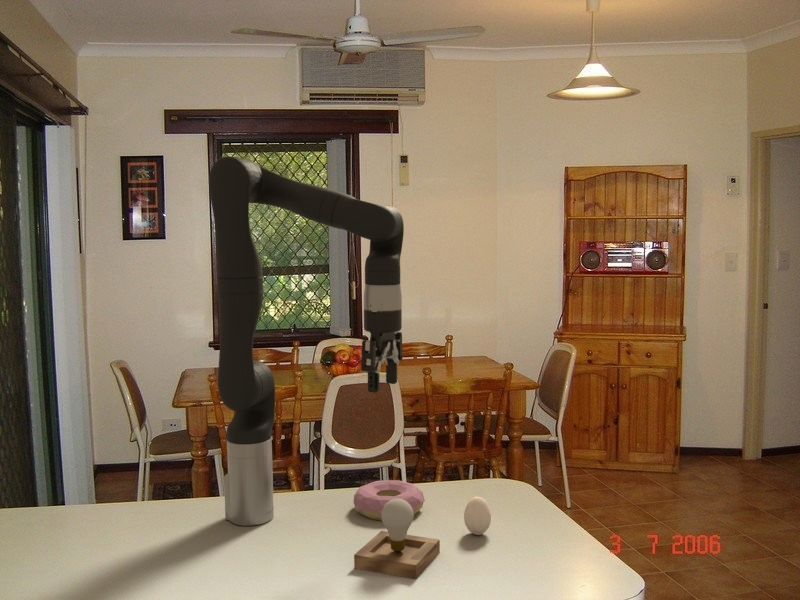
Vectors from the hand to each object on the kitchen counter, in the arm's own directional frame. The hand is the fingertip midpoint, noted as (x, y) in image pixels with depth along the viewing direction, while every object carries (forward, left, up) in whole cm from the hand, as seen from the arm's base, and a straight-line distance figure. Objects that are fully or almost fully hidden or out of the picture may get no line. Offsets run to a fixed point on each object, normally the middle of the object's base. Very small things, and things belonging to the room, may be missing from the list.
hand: (382, 387), depth 160 cm
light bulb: (+8, -13, -28) cm, 32 cm away
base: (+8, -13, -29) cm, 33 cm away
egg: (+18, +4, -29) cm, 35 cm away
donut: (-4, +10, -30) cm, 32 cm away
